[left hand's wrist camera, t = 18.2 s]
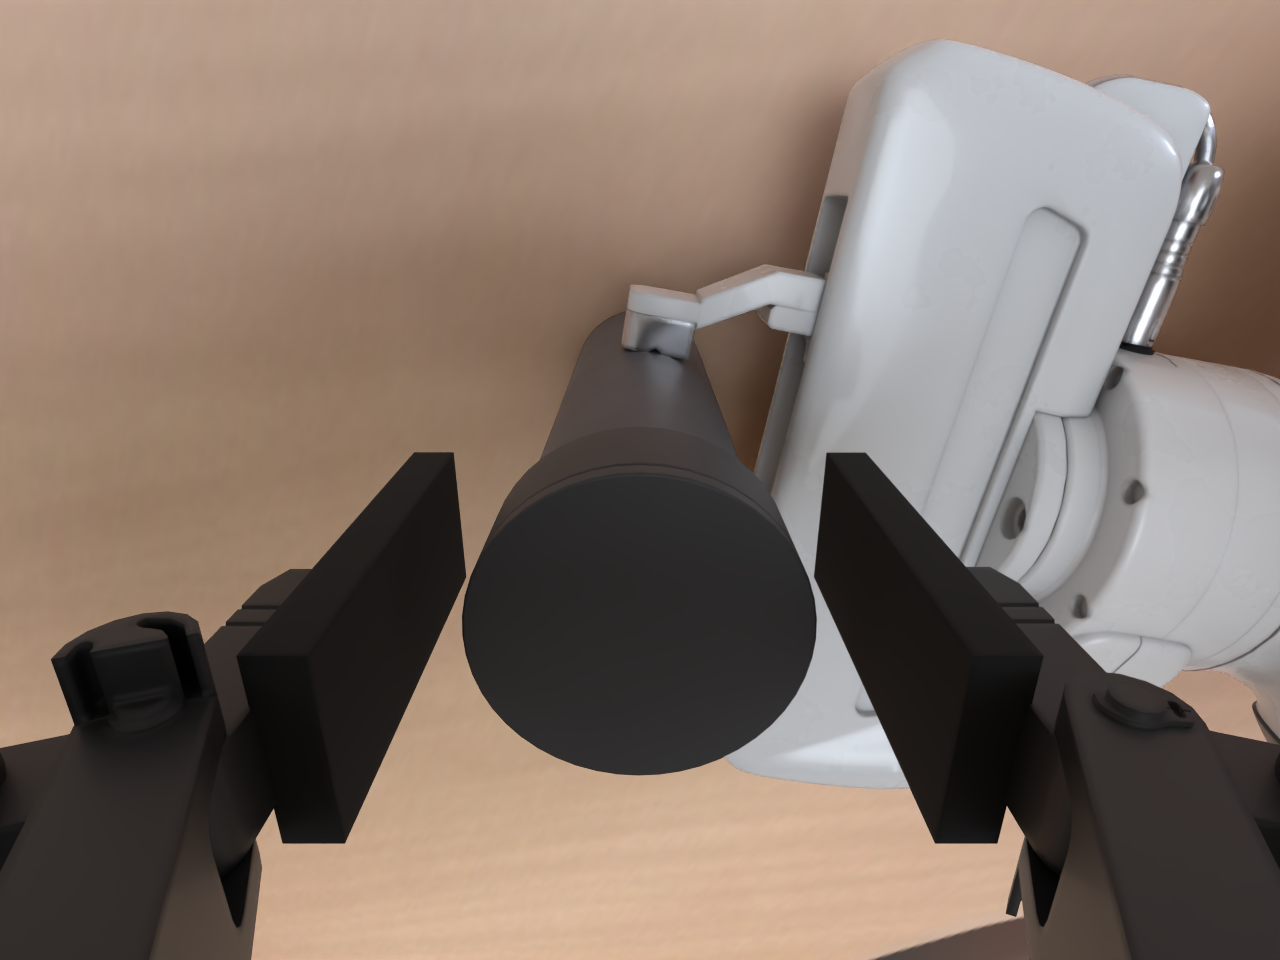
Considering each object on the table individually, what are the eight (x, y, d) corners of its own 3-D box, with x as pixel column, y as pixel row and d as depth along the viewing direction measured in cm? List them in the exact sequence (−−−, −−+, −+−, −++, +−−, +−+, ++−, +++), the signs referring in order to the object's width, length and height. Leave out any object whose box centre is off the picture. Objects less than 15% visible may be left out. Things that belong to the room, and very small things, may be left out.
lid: (834, 471, 12) (872, 526, 10) (734, 716, 13) (750, 805, 11) (524, 388, 11) (500, 430, 9) (465, 655, 13) (434, 737, 11)
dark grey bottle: (666, 451, 27) (699, 765, 12) (557, 400, 26) (450, 667, 11) (723, 344, 25) (841, 553, 11) (610, 287, 25) (565, 425, 10)
